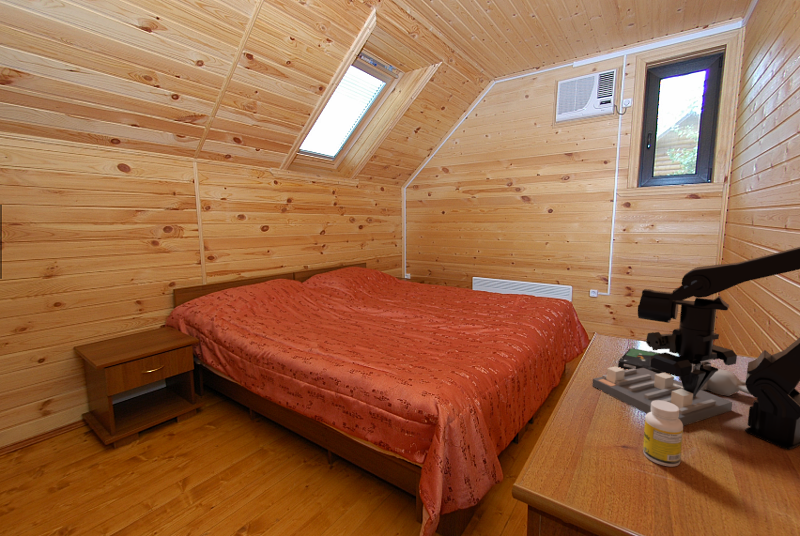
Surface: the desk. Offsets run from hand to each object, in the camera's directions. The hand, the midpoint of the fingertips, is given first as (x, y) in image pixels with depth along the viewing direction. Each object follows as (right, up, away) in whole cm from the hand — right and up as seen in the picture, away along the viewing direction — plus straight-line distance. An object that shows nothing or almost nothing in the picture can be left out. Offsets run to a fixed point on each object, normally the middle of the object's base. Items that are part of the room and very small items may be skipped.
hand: (689, 397), depth 79 cm
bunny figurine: (+15, -2, +10) cm, 18 cm away
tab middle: (0, 0, +7) cm, 7 cm away
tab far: (-9, 0, +12) cm, 15 cm away
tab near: (-2, -2, -1) cm, 3 cm away
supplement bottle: (-16, -6, -14) cm, 23 cm away
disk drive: (+8, -1, +26) cm, 27 cm away
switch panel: (-2, -3, +7) cm, 8 cm away
